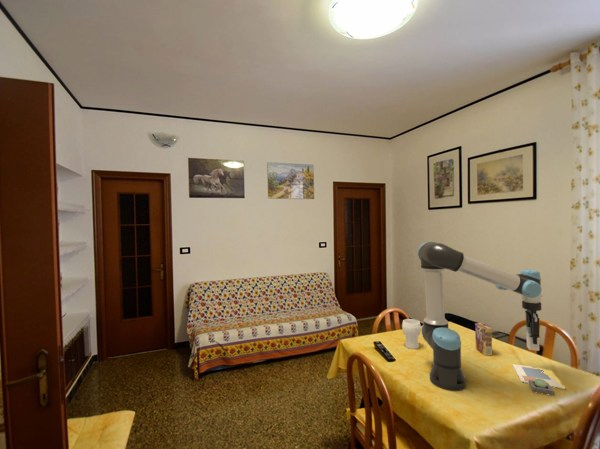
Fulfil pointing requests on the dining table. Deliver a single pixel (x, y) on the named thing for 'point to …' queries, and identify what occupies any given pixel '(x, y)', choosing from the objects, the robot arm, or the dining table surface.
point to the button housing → (541, 390)
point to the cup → (411, 332)
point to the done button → (540, 383)
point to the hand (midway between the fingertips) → (533, 348)
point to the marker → (528, 332)
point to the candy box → (483, 339)
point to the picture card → (534, 375)
